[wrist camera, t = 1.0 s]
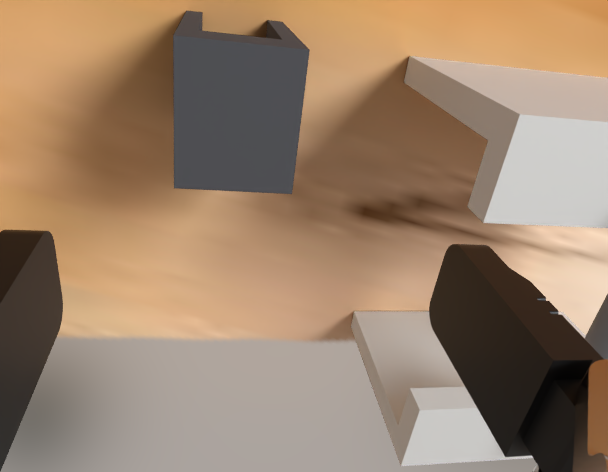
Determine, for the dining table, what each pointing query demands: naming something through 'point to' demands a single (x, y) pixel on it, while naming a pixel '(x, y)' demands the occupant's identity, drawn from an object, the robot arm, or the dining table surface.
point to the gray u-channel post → (237, 107)
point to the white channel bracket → (490, 209)
